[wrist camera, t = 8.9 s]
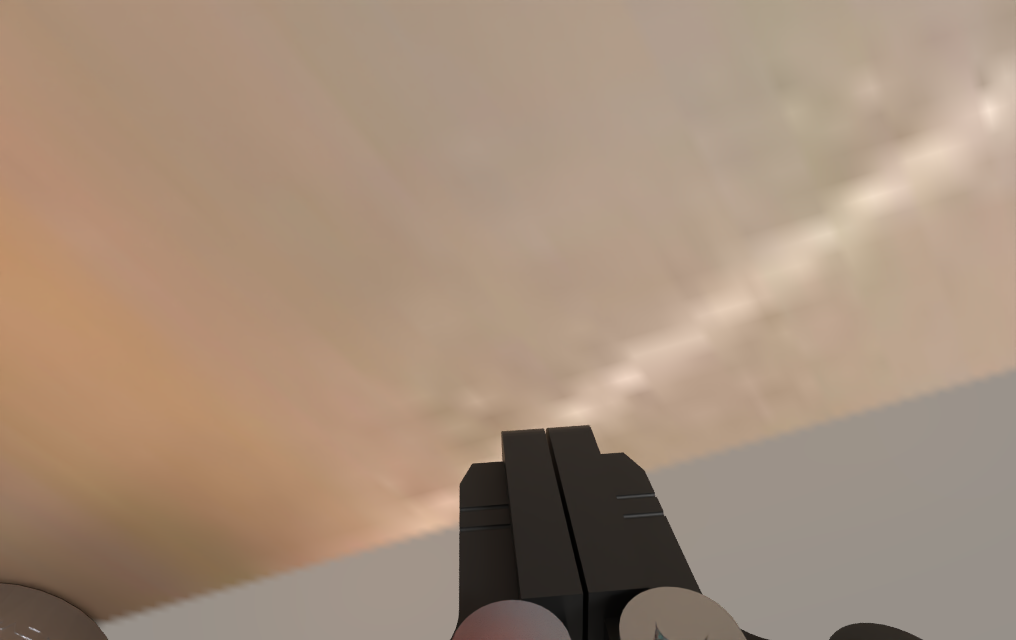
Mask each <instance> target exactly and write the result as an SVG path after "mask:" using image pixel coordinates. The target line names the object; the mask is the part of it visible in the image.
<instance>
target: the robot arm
mask: <svg viewBox="0 0 1016 640" xmlns="http://www.w3.org/2000/svg"><path fill="white" fill-rule="evenodd" d="M501 438H502V460H503V462H489V463H475V464H472V465H471V467H470V468H469V470H468V472H467V473H466V475H465V477H464V478H463V480H462V481H461V483H460V534H459V535H460V537H459V539H460V540H459V541H460V543H459V549H460V550H459V557H460V558H459V618H458V623H457V626H456V629H455V631H454V634H453V636H452V638H451V639H450V640H768V639H764V638H761V637H758V636H755V635H753V634H750V633H748V632H745V631H744V630H742V629H740V628H739V626H738V625H737V623H736V622H735V620H734V619H733V617H732V616H731V615H730V614H729V613H728V612H727V611H726V610H725V609H724V608H723V607H721V606H720V605H719V604H718V603H716V602H715V601H713V600H711V599H710V598H708V597H706V596H704V595H703V594H702V593H701V591H700V589H699V587H698V585H697V582H696V580H695V578H694V576H693V574H692V572H691V570H690V568H689V565H688V563H687V561H686V559H685V557H684V555H683V553H682V550H681V548H680V546H679V544H678V542H677V539H676V537H675V535H674V533H673V531H672V529H671V527H670V524H669V522H668V520H667V518H666V516H664V514H663V509H662V507H661V505H660V503H659V501H658V499H657V497H655V492H654V490H653V488H652V486H651V484H650V481H649V479H648V477H647V475H646V473H645V471H644V470H643V469H642V468H641V467H640V466H639V465H637V464H636V463H635V462H634V461H633V460H632V459H630V458H629V457H628V456H627V455H626V454H624V453H610V454H600V451H599V448H598V446H597V443H596V440H595V438H594V435H593V432H592V430H591V427H590V426H589V425H584V426H570V427H556V428H547V429H546V434H545V431H544V429H529V430H515V431H502V432H501ZM0 640H108V639H107V637H106V636H105V634H104V633H103V632H102V631H101V629H100V628H99V627H98V625H97V624H96V623H95V622H94V621H93V620H91V619H90V618H89V617H88V616H87V615H85V614H84V613H83V612H82V611H81V610H79V609H77V608H76V607H74V606H72V605H71V604H69V603H67V602H66V601H64V600H62V599H60V598H57V597H55V596H53V595H50V594H48V593H45V592H43V591H40V590H36V589H32V588H28V587H24V586H20V585H13V584H3V583H0ZM829 640H922V639H920V638H918V637H916V636H914V635H912V634H910V633H908V632H905V631H902V630H900V629H897V628H894V627H890V626H886V625H881V624H874V623H858V624H851V625H848V626H845V627H842V628H841V629H839V630H838V631H836V632H835V633H834V634H833V635H832V636H831V637H830V639H829Z"/></svg>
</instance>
